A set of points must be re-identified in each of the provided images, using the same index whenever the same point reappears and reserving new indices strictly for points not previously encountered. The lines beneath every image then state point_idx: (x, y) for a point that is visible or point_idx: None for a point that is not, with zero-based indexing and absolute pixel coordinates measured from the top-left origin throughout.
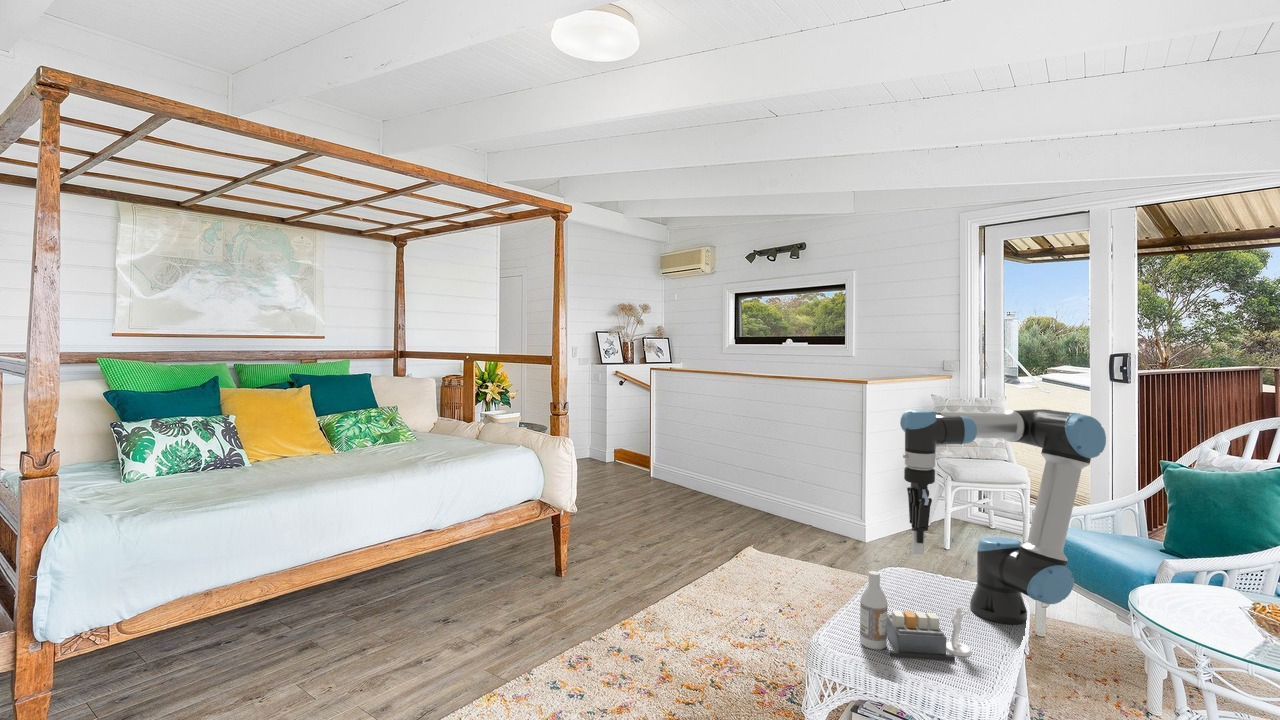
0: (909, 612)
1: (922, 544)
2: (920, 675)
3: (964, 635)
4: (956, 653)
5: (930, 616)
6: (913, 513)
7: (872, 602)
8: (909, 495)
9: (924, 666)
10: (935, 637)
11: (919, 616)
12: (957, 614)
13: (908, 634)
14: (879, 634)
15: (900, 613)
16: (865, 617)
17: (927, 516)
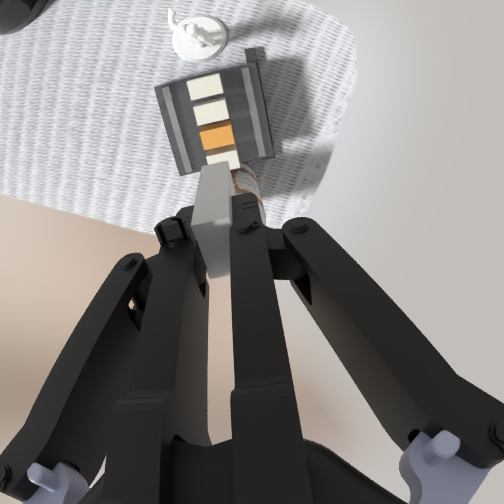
0: (208, 138)
1: (230, 187)
2: (324, 114)
3: (128, 24)
4: (223, 41)
5: (212, 92)
6: (207, 358)
7: None
8: (97, 471)
9: (290, 102)
10: (259, 83)
11: (223, 117)
12: (201, 33)
13: (268, 137)
14: (257, 184)
15: (221, 157)
16: None
17: (382, 304)
